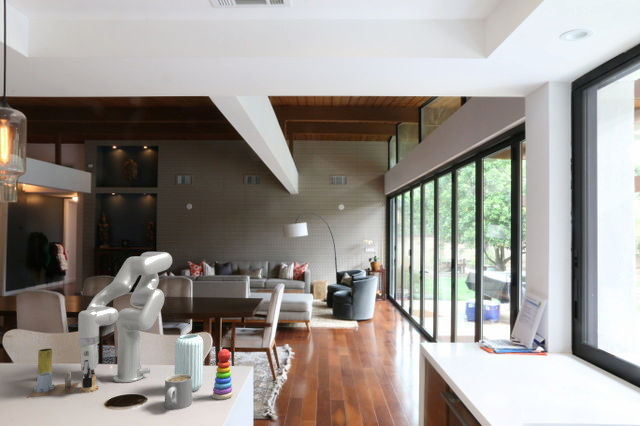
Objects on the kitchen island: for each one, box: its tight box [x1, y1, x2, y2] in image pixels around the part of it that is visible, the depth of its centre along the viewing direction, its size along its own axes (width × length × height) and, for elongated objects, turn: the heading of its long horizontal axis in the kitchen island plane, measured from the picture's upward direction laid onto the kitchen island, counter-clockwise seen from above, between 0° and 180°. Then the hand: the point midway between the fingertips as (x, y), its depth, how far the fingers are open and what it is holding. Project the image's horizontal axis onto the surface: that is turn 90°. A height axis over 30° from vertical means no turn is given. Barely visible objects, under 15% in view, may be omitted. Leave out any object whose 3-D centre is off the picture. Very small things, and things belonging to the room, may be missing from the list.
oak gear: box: [78, 374, 100, 394], centre depth 184 cm, size 7×7×6 cm
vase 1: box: [37, 348, 53, 375], centre depth 198 cm, size 6×6×14 cm
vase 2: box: [174, 333, 204, 393], centre depth 189 cm, size 12×12×22 cm
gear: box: [33, 372, 56, 392], centre depth 184 cm, size 7×7×6 cm
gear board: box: [26, 371, 80, 399], centre depth 184 cm, size 16×14×8 cm
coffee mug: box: [164, 374, 193, 411], centre depth 170 cm, size 13×10×10 cm
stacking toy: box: [211, 348, 234, 400], centre depth 180 cm, size 8×8×19 cm
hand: (88, 384), depth 184 cm, fingers closed on oak gear, 5 cm apart
